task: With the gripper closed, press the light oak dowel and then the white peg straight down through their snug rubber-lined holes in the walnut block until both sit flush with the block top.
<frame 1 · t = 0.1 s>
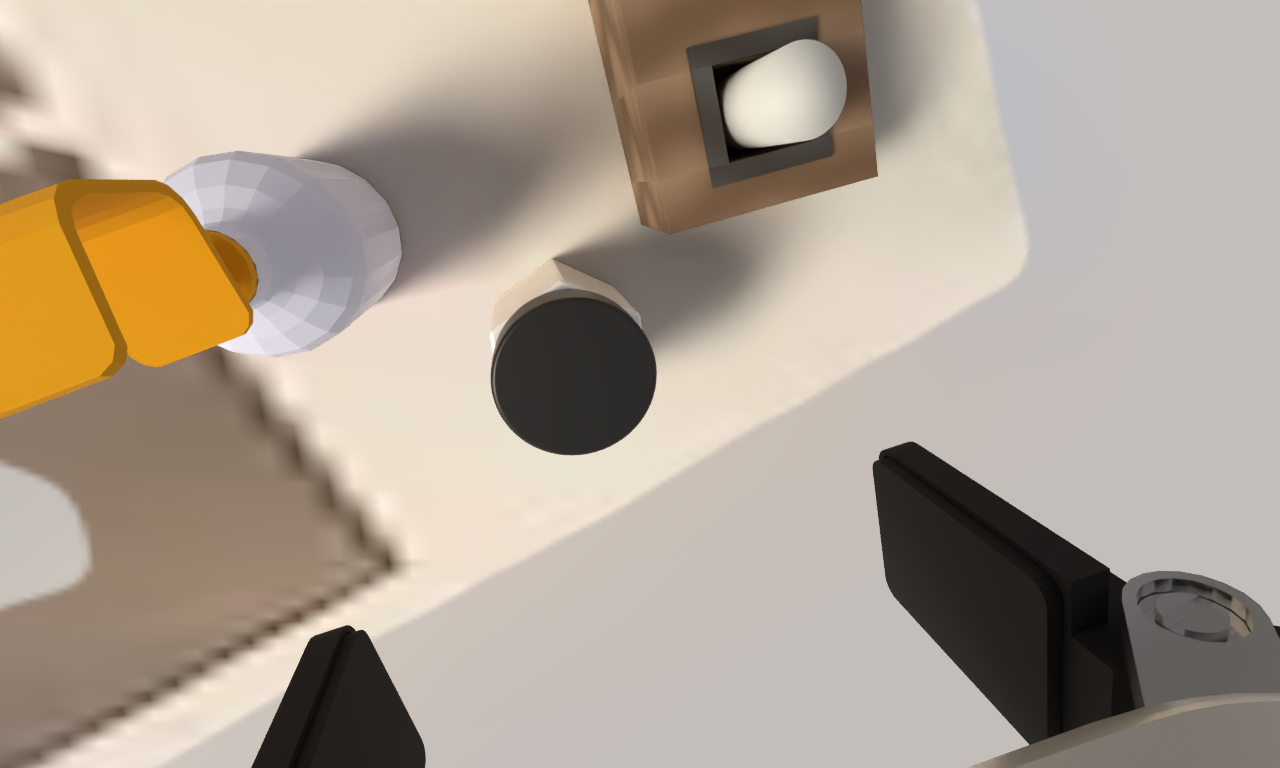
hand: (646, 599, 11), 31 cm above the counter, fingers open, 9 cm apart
white peg: (769, 102, 30), point 9 cm above the counter, slide at 5.0 cm
jar: (559, 325, 41), on the counter
walnut block: (696, 33, 37), on the counter
soap bottle: (323, 240, 36), on the counter
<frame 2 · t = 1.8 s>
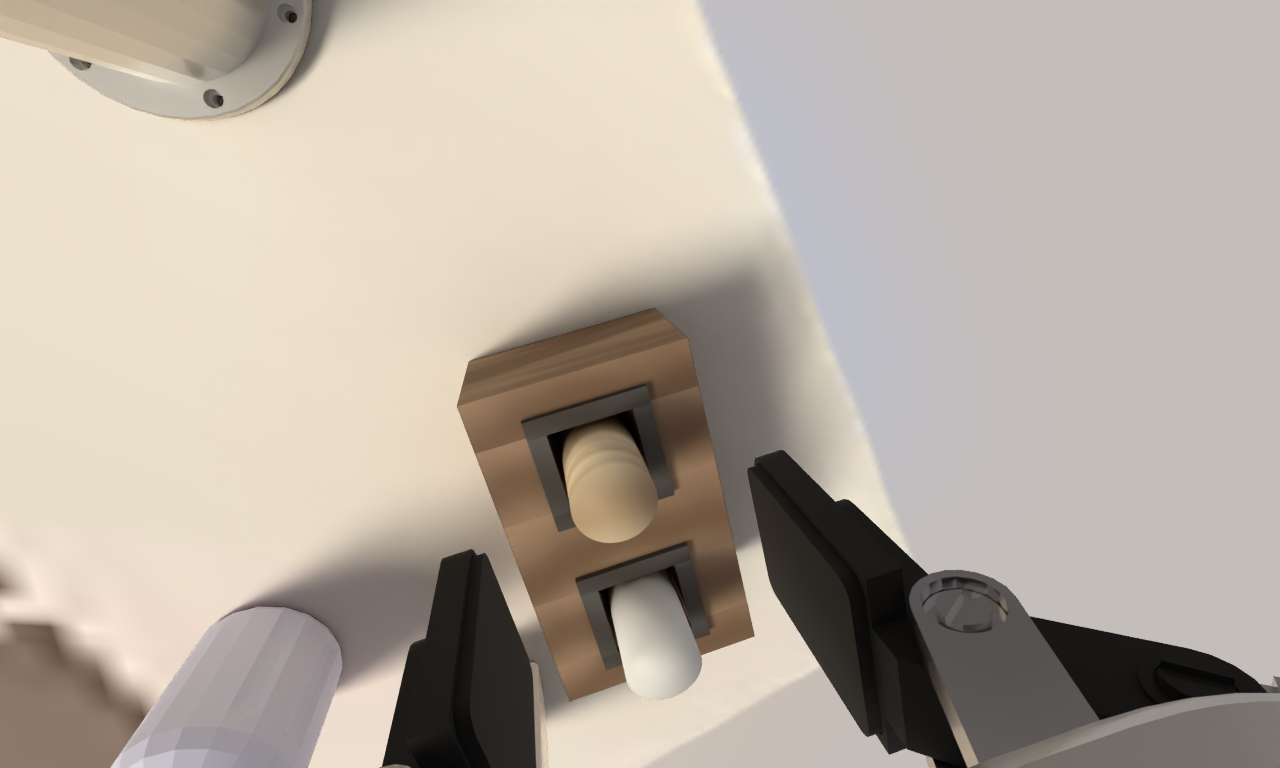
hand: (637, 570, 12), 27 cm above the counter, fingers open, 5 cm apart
white peg: (648, 618, 34), point 9 cm above the counter, slide at 5.0 cm
oak peg: (603, 467, 31), point 9 cm above the counter, slide at 5.0 cm
jar: (489, 694, 45), on the counter
walnut block: (604, 471, 41), on the counter
soap bottle: (273, 657, 41), on the counter
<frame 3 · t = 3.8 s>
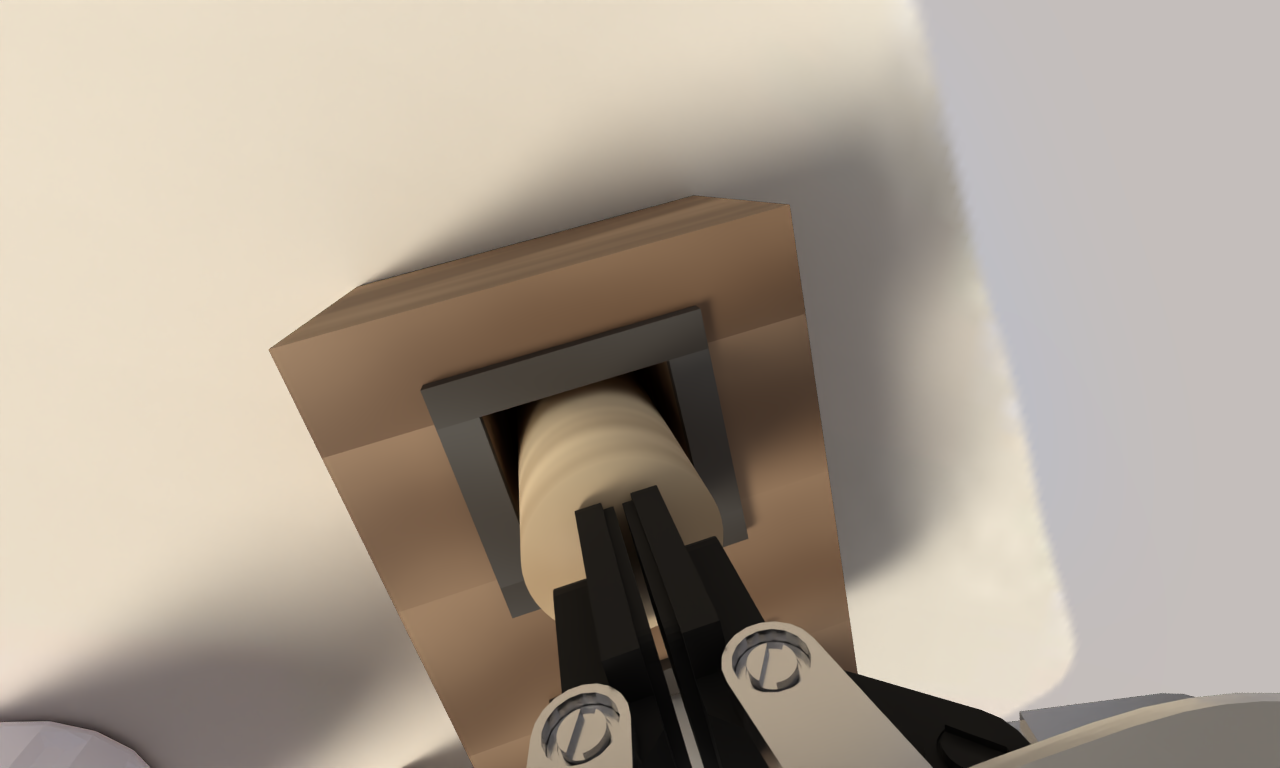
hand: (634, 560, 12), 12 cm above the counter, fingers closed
oak peg: (598, 464, 15), point 8 cm above the counter, slide at 3.8 cm, touching gripper
walnut block: (604, 483, 25), on the counter
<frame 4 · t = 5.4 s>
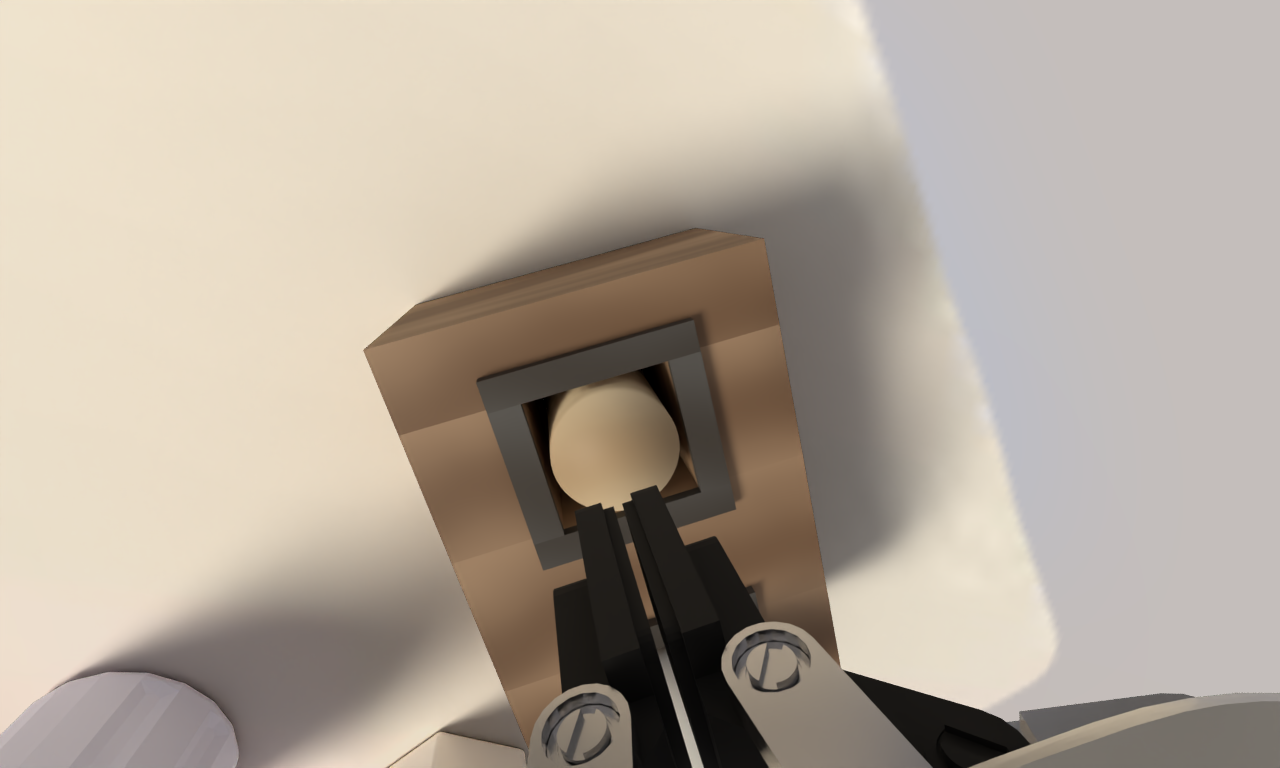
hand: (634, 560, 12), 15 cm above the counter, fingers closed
white peg: (691, 710, 21), point 9 cm above the counter, slide at 5.0 cm
oak peg: (602, 411, 22), point 5 cm above the counter, slide at 0.6 cm
walnut block: (619, 475, 28), on the counter
soap bottle: (137, 743, 28), on the counter
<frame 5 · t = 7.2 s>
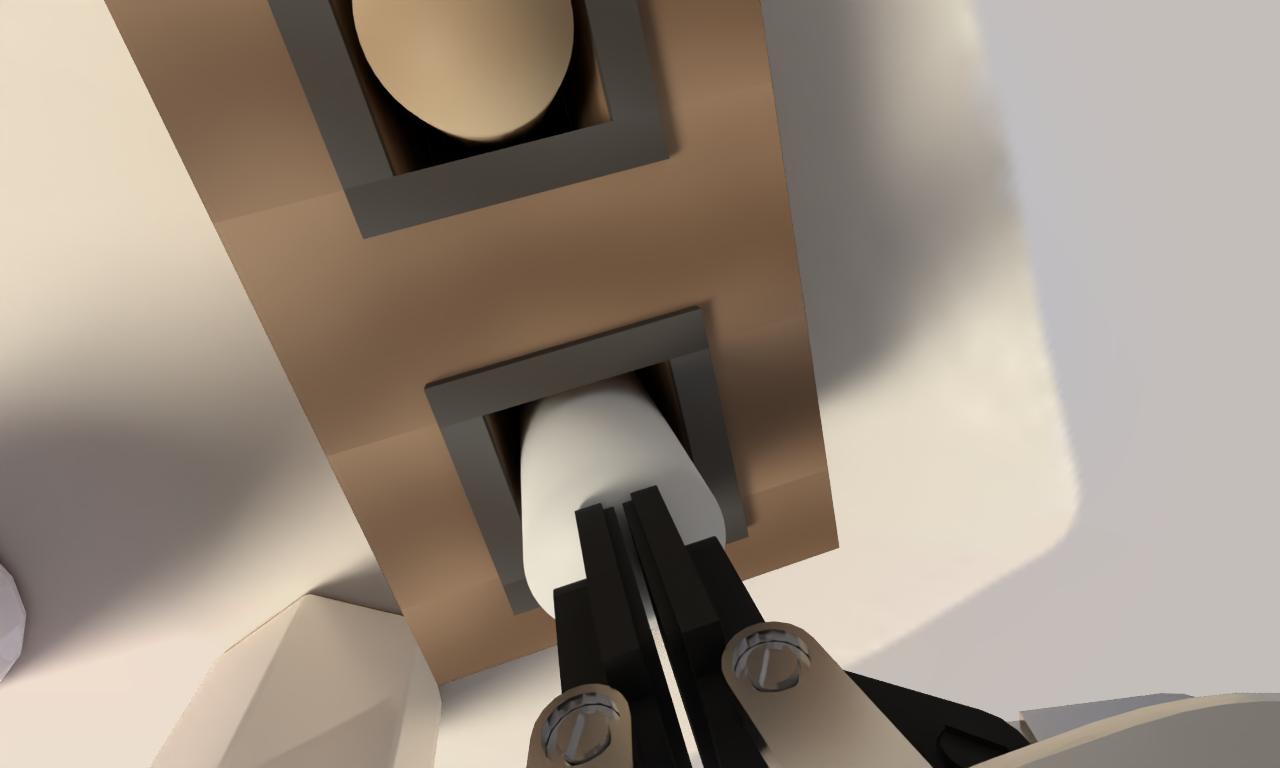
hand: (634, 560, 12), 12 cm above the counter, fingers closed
white peg: (600, 465, 15), point 8 cm above the counter, slide at 3.9 cm, touching gripper
oak peg: (477, 57, 15), point 5 cm above the counter, slide at 0.6 cm
jar: (337, 676, 25), on the counter
walnut block: (532, 240, 21), on the counter
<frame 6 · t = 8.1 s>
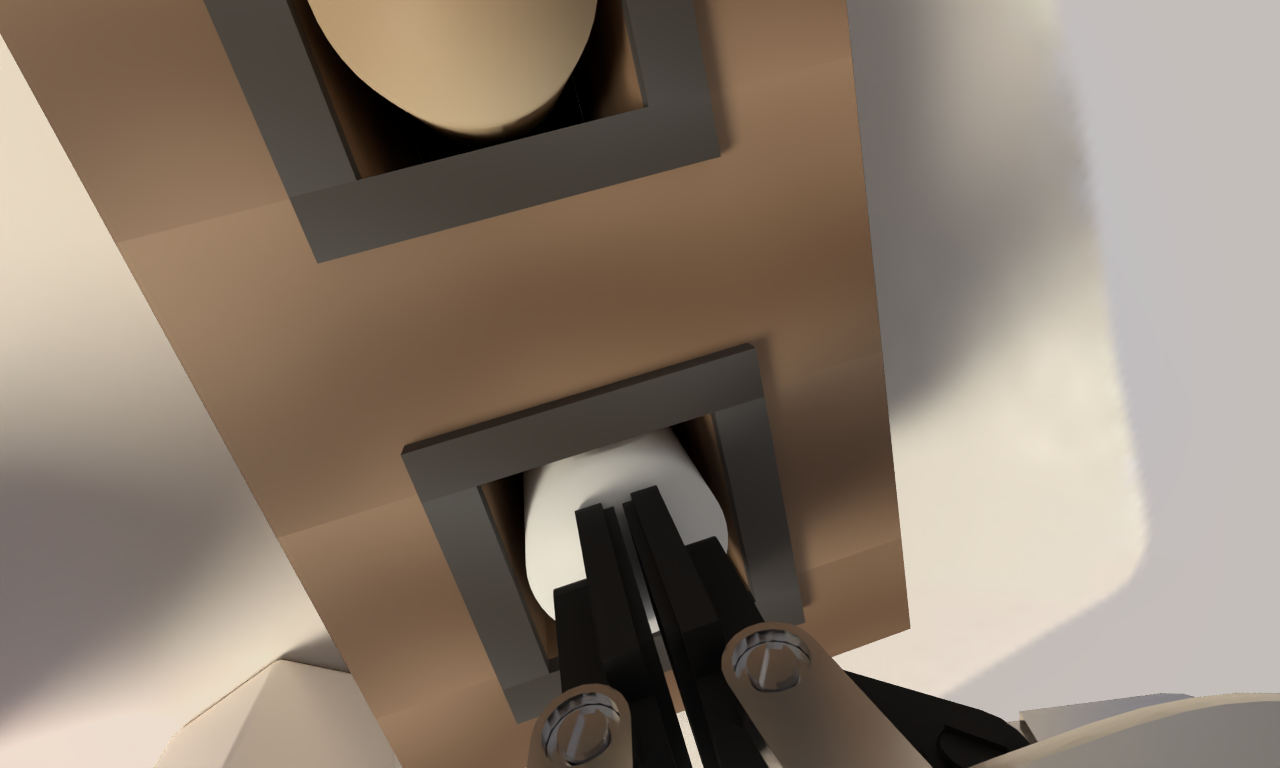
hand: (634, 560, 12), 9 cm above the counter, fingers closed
white peg: (603, 467, 15), point 5 cm above the counter, slide at 0.6 cm, touching gripper
oak peg: (472, 31, 12), point 5 cm above the counter, slide at 0.6 cm
jar: (315, 748, 22), on the counter
walnut block: (538, 254, 18), on the counter
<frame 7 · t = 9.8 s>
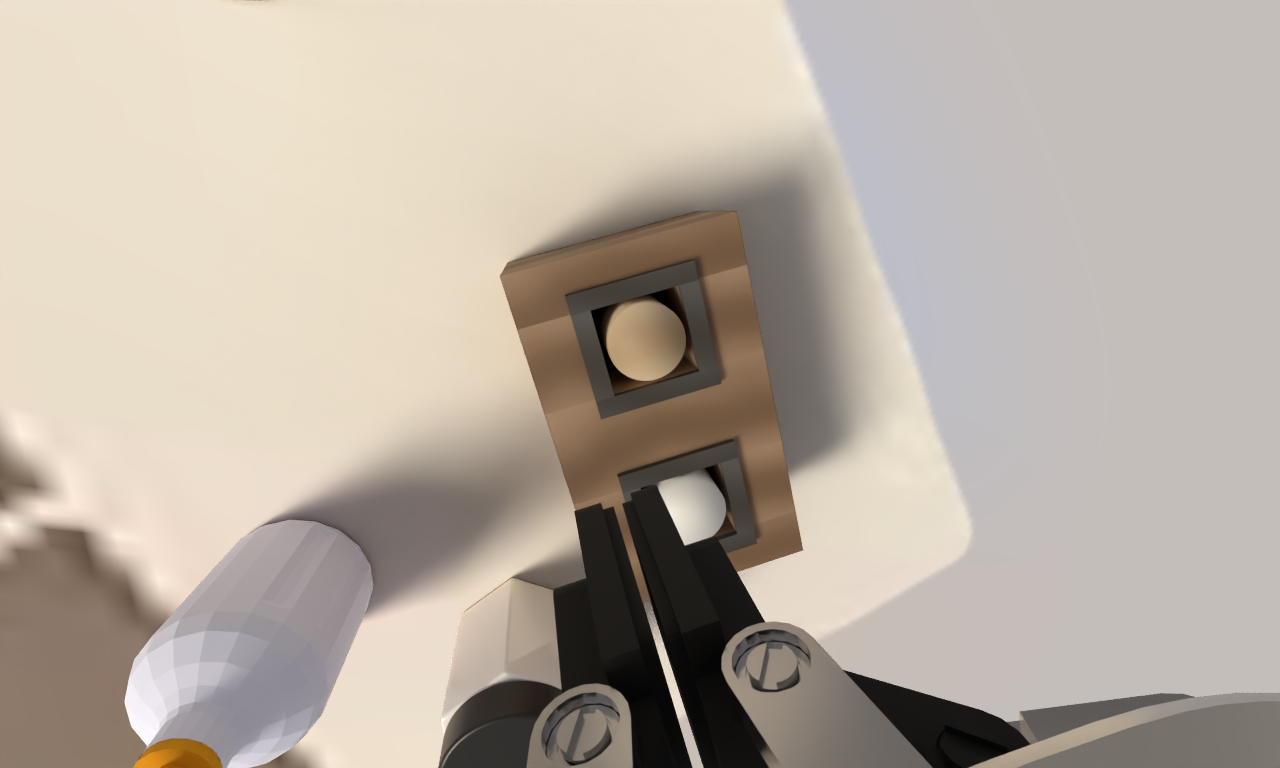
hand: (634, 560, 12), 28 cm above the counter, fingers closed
white peg: (675, 483, 37), point 5 cm above the counter, slide at 0.6 cm
oak peg: (635, 328, 34), point 5 cm above the counter, slide at 0.6 cm
jar: (521, 628, 44), on the counter
walnut block: (643, 387, 40), on the counter
soap bottle: (303, 577, 40), on the counter
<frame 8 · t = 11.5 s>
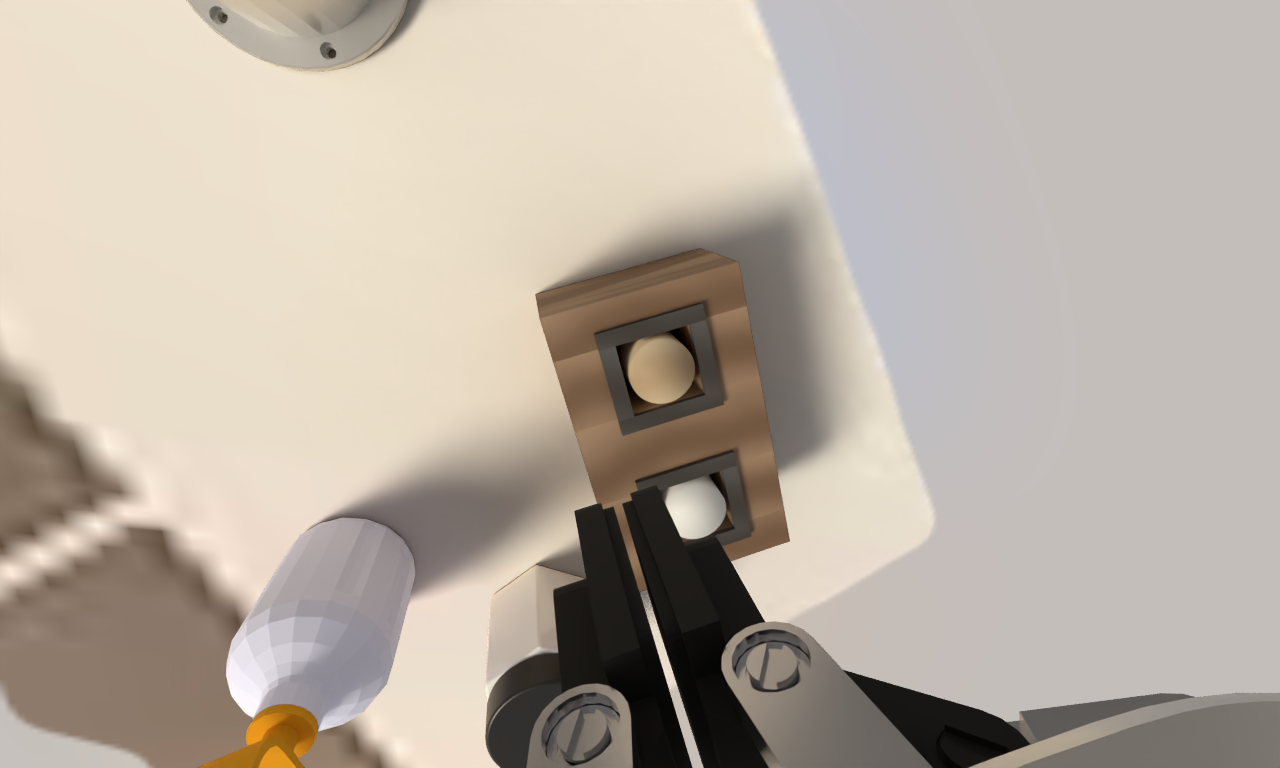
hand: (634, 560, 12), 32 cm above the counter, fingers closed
white peg: (681, 484, 43), point 5 cm above the counter, slide at 0.6 cm
oak peg: (649, 355, 40), point 5 cm above the counter, slide at 0.6 cm
jar: (542, 608, 50), on the counter
walnut block: (651, 399, 46), on the counter
soap bottle: (353, 566, 46), on the counter
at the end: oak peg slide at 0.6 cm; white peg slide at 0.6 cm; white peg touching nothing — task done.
